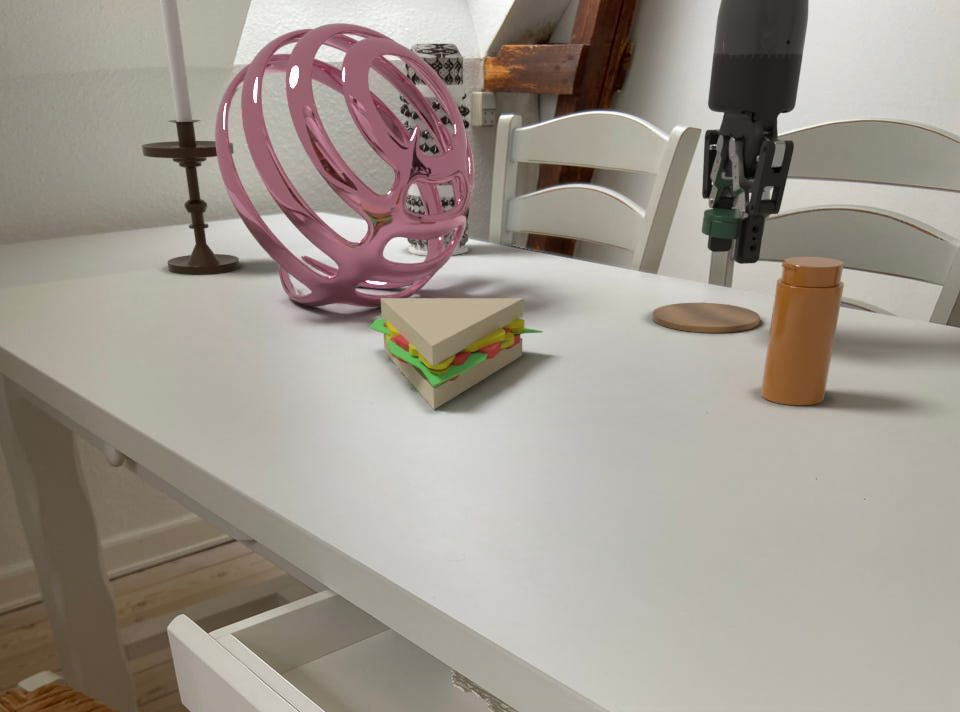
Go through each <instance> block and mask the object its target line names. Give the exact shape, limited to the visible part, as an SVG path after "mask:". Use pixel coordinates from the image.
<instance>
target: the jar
mask: <svg viewBox="0 0 960 712" xmlns="http://www.w3.org/2000/svg"><path fill="white" fill-rule="evenodd" d="M781 268H782V271H781V277H779V278H778V279H777V280H776V284H775V293H774V300H773V307H772V313H771V321H770V327H769V334H768V342H767V349H766V356H765V362H764V368H763V377H762V383H761V390H760V395H761V397H762V398H763V399H765V400H767V401H769V402H772V403H775V404H780V405H787V406H811V405H812V406H813V405H816V404H819V403H822V402H823V401H824V400H825V394H826V389H827V383H828V379H829V372H830V366H831V361H832V356H833V350H834V349H833V348H834V343H835V338H836V332H837V327H838V321H839V317H840V309H841V304H842V299H843V292H844V287H845V283H844V282H843V281H842V276H843V269H844V262H843V261H841V260H839V259H835V258H830V257H822V256H792V257H788V258H785V259H784V260H783V262H782V263H781Z"/></svg>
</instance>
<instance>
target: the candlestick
mask: <svg viewBox="0 0 960 712" xmlns="http://www.w3.org/2000/svg"><path fill="white" fill-rule="evenodd" d="M159 5H160V11H161V12H160V13H161V20H162V26H163V33H164V40H165V48H166V55H167V61H168V71H169V76H170V77H169V78H170V84H171V91H172V99H173V105H174V113H175V119H173V120H172V119H171V120H170V119H169V120H168V122H169V123H174V124H175V126H176V127H175V128H176V135H177V141H174V140H173V141H160V142H158V141H157V142H149V143H144V144H142V145H141V149H142V155H143V157H147V158H159V159H172V162H174V163H177V164H178V166H179V167H180V168H182V169H183V168H184V169H185V176H186V183H187V191H188V200H187V201H185V203H184V208H185V210H186V212H187V213H189V214H190V217H191V223H189V224H188V228H189V229H191V230H193V234H194V235H193V236H194V241H195V242H194V243H195V245H194V247H193V249H192V252H191V253H190V254H189V255H182V256H177V257H173V258H170V259H168V260H167V269H168V271H170V272H171V273H175V274H181V275H212V274H213V275H214V274H221V273H226V272H232V271H235V270H238V269H239V268H240V266H241V265H240V258H239V257H238V256H235V255H232V254H223V253H222V254H221V253H214V251H213V250H212V249H211V248H210V245H208V244H207V236H206V229H209V224H208V223H205V216H204V213H207V209H208V203H207V202H206V201H205V200H203V199H201V193H200V192H201V191H200V185H199V184H200V183H199V178H198V170H197V168H199V167H202V163H204V162H206V161H207V160H208V158H217V153H216V144H215V140H197V138H196V132H195V125H194V124H195V123H198V122H201V121H202V120H201V119H193V116H192V108H191V99H190V92H189V85H188V79H187V78H188V77H187V70H186V62H185V56H184V54H185V53H184V46H183V40H182V31H181V24H180V18H179V10H178V3H177V0H159ZM229 143H230V148H231V153H232V155H233V154H234V153H235V151H234V143H233V142H230V141H229Z"/></svg>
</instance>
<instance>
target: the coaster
mask: <svg viewBox="0 0 960 712" xmlns="http://www.w3.org/2000/svg"><path fill="white" fill-rule="evenodd" d="M651 317H652V320H653V322H654V323H656V325H657V324H658V325H660V326H662V327H665V328H669V329H671V330H672V329H673V330H676V331H677V330H678V331H683V332H693V333H704V334H725V333H727V334H728V333H737V332H744V331H747V330H748V331H749V330H751V329H754V328H756V327H758V326H759V324H760V321H761V316H760V314H759V313H758V312H756V311H754V310H752V309H749V308H747V307H742V306H738V305H731V304H726V303H717V302H715V303H714V302H680V303H672V304H666V305H661V306H659V307H657V308H655V309H654V310H653V311H652V316H651Z"/></svg>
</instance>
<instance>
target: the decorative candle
mask: <svg viewBox="0 0 960 712" xmlns="http://www.w3.org/2000/svg"><path fill="white" fill-rule="evenodd" d="M409 49H410V50H411V51H413V52H414V53H416V54H417V55H418V56H420V57H421V58H422V59H423V60H424V61H425V62H426V63H427V64H429V65H430V66H431V68H432V69H433V70H434V71H435V72H436V73H437V74H438V75H439V77H440V78H441V79H442V81H443V82H444V83H445V85H446V86H447V88H448V89H449V91H450V93H451V94H452V96H453V98H454V100H455V102H456V104H457V106H458V109H459V111H460V114H461V116H462V120H463V123H464V127H465V129H466V130H467V129H468V128H469V127H470V121H468V120H467V119H466V117H467V116H468V115H469V114H470V108H468V106H466V105H463V101H464V100H465V99H466V98H467V94H466V93H465V84H464V59H465V57H464V56H463V55H462V53H461V52H460V50H459V48H458V46H457V45H456V44H454V43H414V44H413V45H412V46H411V47H410V48H409ZM404 68H405V71H404V72H405V75H406V76H407V77H408V78H409V79H410V80H411V82H412V83H413V84H414V85H415V86H416V87H417V88H418V89H419V91H420V92H421V93H422V94H423V95H424V97H425V98H426V99H427V101H428V102H429V103H430V105H431V106H432V108H433V109H434V110H435V112H436V114H437V115H438V117H439V118H440V120H441V122H442V123H443V124H444V125H445V126H446V128H447V129H448V130H449V132H450V133H451V135H452V136H453V137H454V130H453V125H452V123H451V121H450V119H449V117H448V115H447V114H446V112H445V110H444V108H443V107H442V105H441V104H440V102H439V101H438V99H437V98H436V96H435V95H434V94H433V92H432V91H431V90H430V88H429V87H428V86H427V85H426V83H425V82H424V81H423V80H422V79H421V78H420V77H419V76H418V75H417V74H416V73H415V72H414V71H413V70H412V69H411V68H410V67H409V66H408V65H407V64H406V63H405V62H404ZM399 100H400V101H401V102H402V103H404V104H403V105H401V106H400V110H399V112H400V114H401V115H403V116H404V117H406V118H407V119H405V121H404V122H402V124H403V125H404V126H405V128H406V129H407V130H408V132H409V133H410V135H411V134H412V132H413V129H414V127H415V125H416V124H419V128H420V136H419V149H420V150H421V152H422V154H423V155H427V156H440V155H441V153H440V151H439V149H438V147H437V145H436V143H435V141H434V139H433V137H432V135H431V134H430V132H429V130H428V129H427V127H426V126H425V124H424V123H423V121H422V120H421V118H420V117H419V115H418V114H417V113H416V111H415V110H414V109H413V108H412V106H411V105H410V104H409V103H408V102H407V100H406V99H405V98H404V97H403V96H402V95H401V94H400V93H399ZM436 186H437V189H438V192H439V196H440V200H441V204H442V210H443V212H446V211H448V210H450V209H451V208H453V207H454V206H455V200H454V193H453V188H452V184H451V180H450V181H449V182H446V183H443V184H438V185H436ZM406 204H408V205H410V206H409V208H407V209H408V210H409V211H411V212H413V213H418V214H425V215H426V213H425V209H424V205H423V202H422V198H421V195H420V193H419V190H418V187H417V185H416V183H413V184H412V185H411V187H410V188H409V191H408V195H407V197H406ZM468 230H469V223H468V222H467V224H466V227H465V231H464V233H463V236H462V238H461V240H460V243H459V245H458V246H457V248H456V250H455V252H454V253H453V255H452V256H456V255H461V254H465V253H466V252H468V251H469V248H468V245H467V244H466V243H468V242H469V235H468V233H467V231H468ZM453 231H454V230H453ZM453 231H452V232H450V233H449V234H447V235H445V236H444V244H443V250H444V249H445V248H446V246H447V245H448V243H449V241H450V239H451V237H452V234H453ZM406 240H407V242H408V243H409V244H410V246H408V252H409V253H411V254H413V255H419V256H426V255H427V250H428V240H414V239H408V238H406Z"/></svg>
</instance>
